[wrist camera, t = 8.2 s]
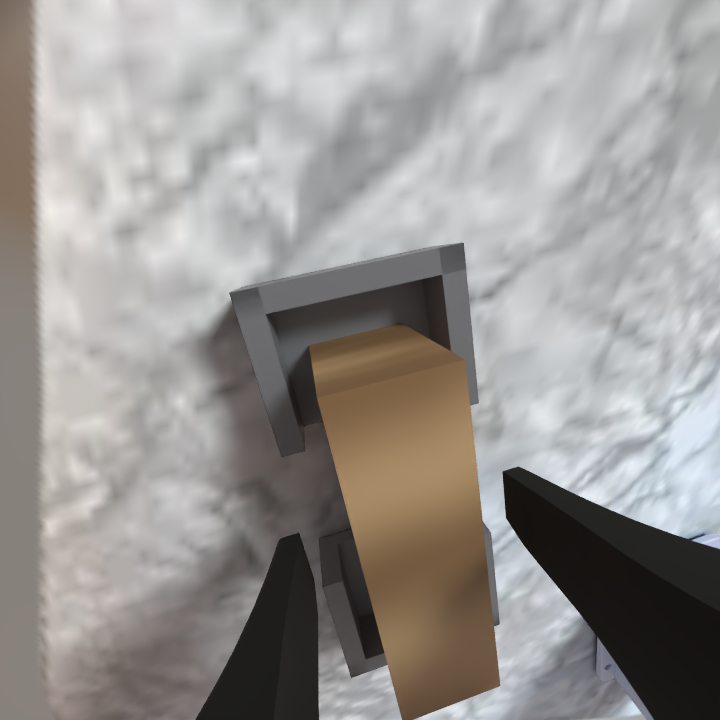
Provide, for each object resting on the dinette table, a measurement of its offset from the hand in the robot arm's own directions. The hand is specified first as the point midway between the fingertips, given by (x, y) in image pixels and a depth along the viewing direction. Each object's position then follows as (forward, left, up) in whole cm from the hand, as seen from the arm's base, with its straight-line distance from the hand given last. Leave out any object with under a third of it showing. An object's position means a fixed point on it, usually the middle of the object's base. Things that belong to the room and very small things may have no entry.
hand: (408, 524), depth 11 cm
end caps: (0, 0, -4) cm, 4 cm away
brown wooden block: (0, 0, -3) cm, 3 cm away
